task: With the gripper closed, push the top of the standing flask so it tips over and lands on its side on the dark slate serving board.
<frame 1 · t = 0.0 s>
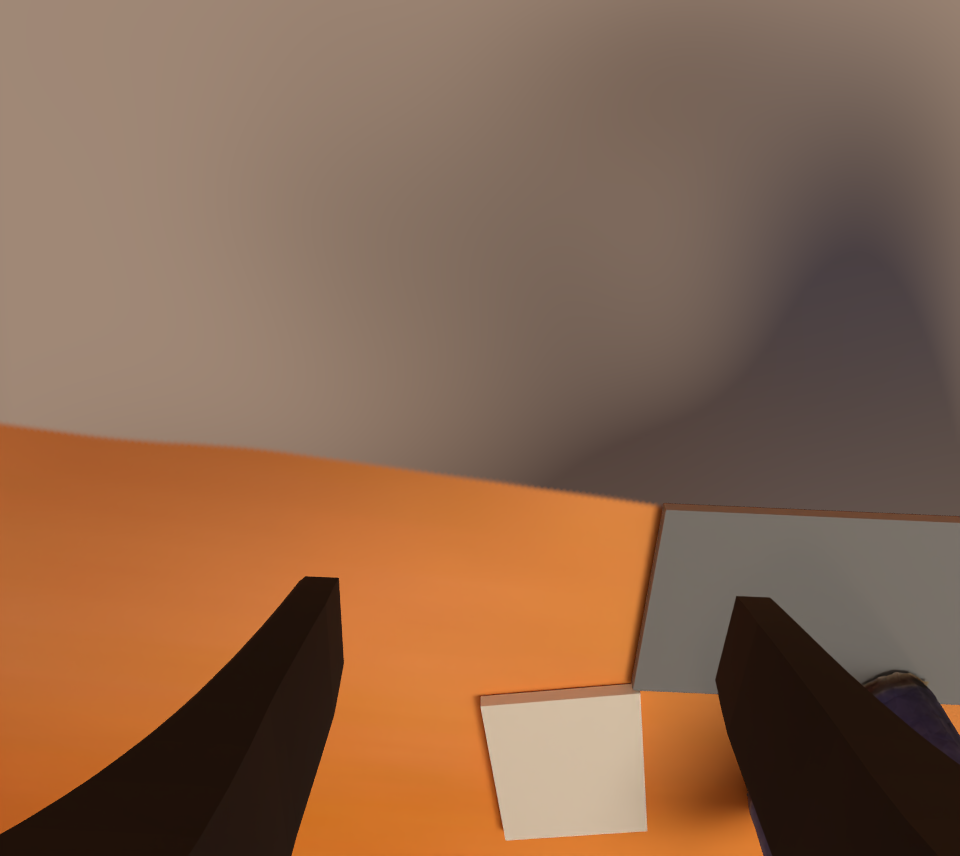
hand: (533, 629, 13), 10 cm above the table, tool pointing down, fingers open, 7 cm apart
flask: (826, 739, 28), on the table, touching board
napkin: (567, 761, 29), on the table
board: (844, 607, 26), on the table
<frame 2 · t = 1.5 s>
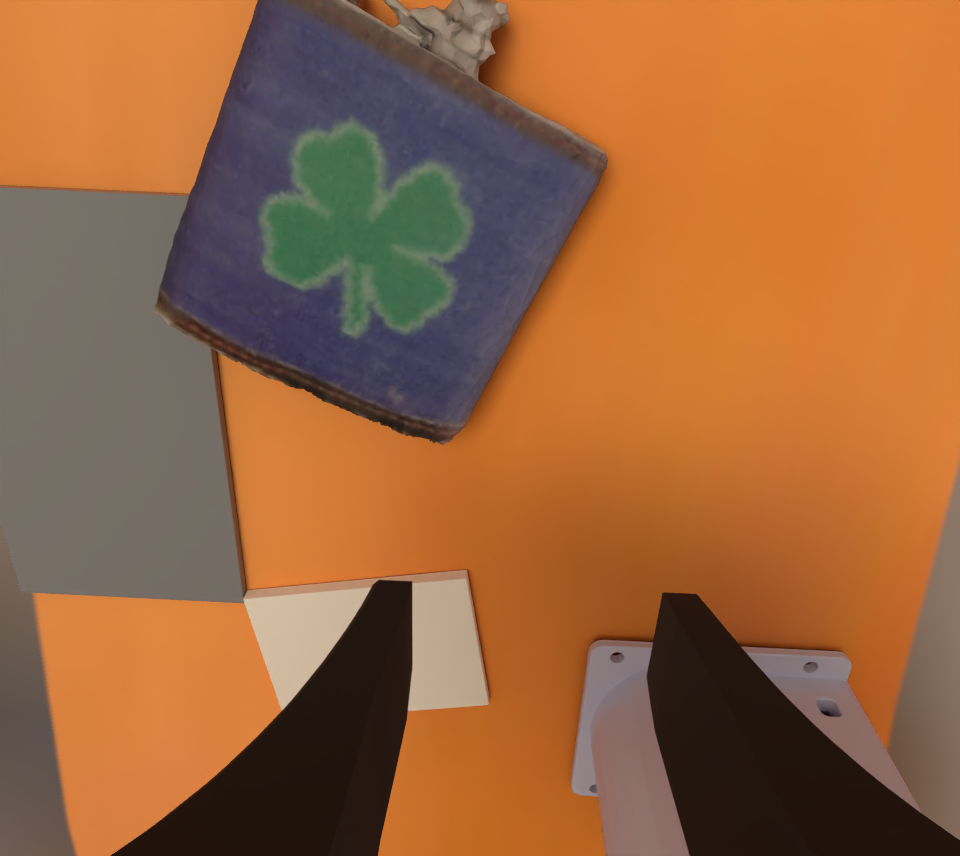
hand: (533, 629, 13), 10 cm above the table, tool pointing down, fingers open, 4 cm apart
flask: (308, 379, 21), point 2 cm above the table, touching board
napkin: (372, 644, 27), on the table
board: (100, 415, 23), on the table
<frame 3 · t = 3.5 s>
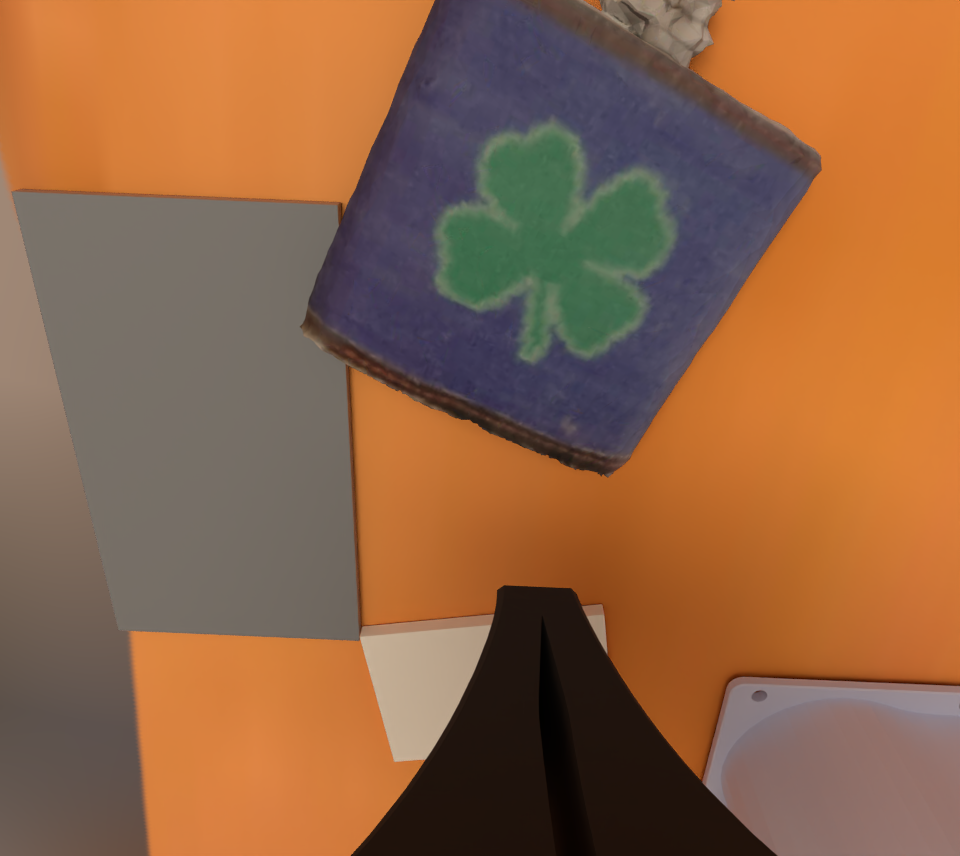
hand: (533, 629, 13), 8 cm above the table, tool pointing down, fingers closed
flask: (461, 406, 19), point 2 cm above the table, touching board
napkin: (492, 681, 25), on the table
board: (216, 443, 21), on the table
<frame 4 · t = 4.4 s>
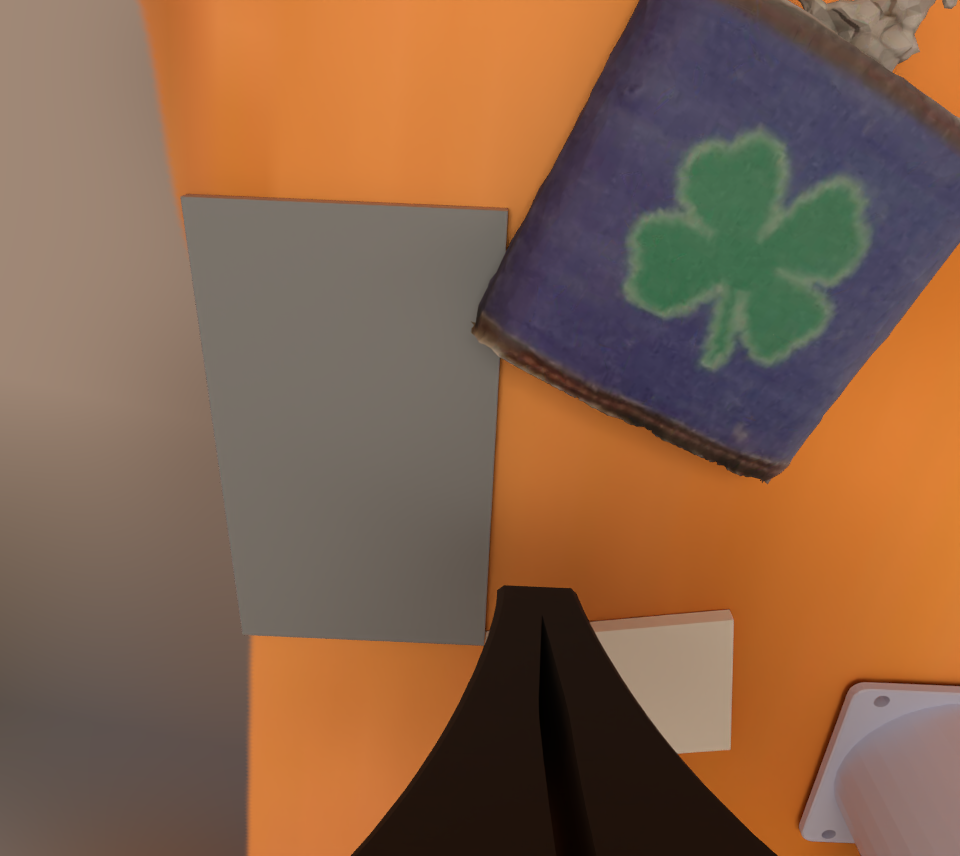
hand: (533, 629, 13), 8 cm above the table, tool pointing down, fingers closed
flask: (622, 413, 19), point 2 cm above the table, touching board
napkin: (610, 686, 25), on the table
board: (357, 448, 21), on the table
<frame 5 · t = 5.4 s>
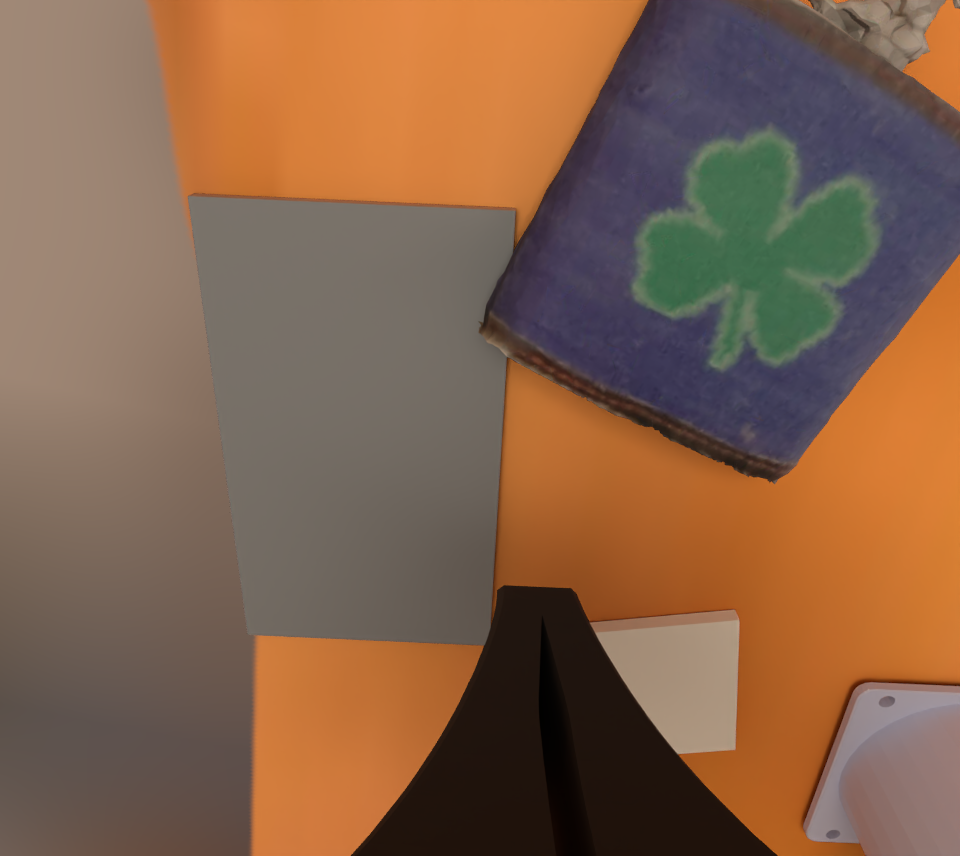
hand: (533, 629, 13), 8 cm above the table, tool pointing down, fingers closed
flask: (629, 413, 19), point 2 cm above the table, touching board
napkin: (616, 686, 25), on the table
board: (363, 448, 21), on the table
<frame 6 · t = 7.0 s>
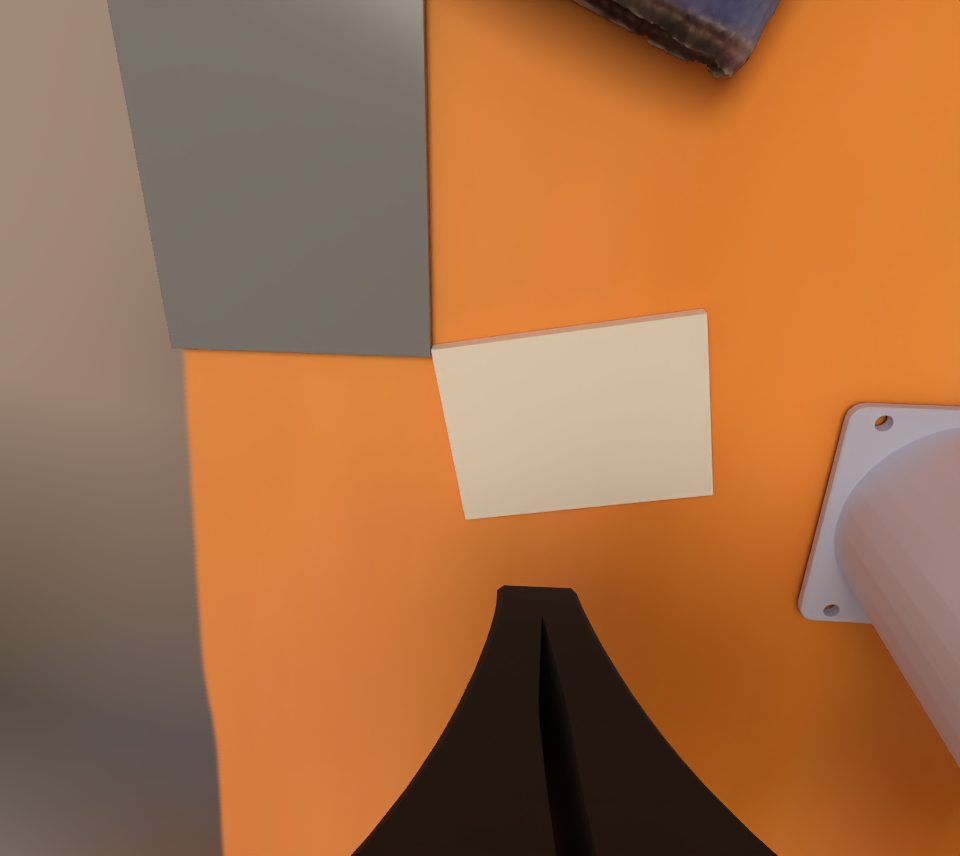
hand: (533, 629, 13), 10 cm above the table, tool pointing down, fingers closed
napkin: (575, 418, 23), on the table
board: (278, 99, 19), on the table
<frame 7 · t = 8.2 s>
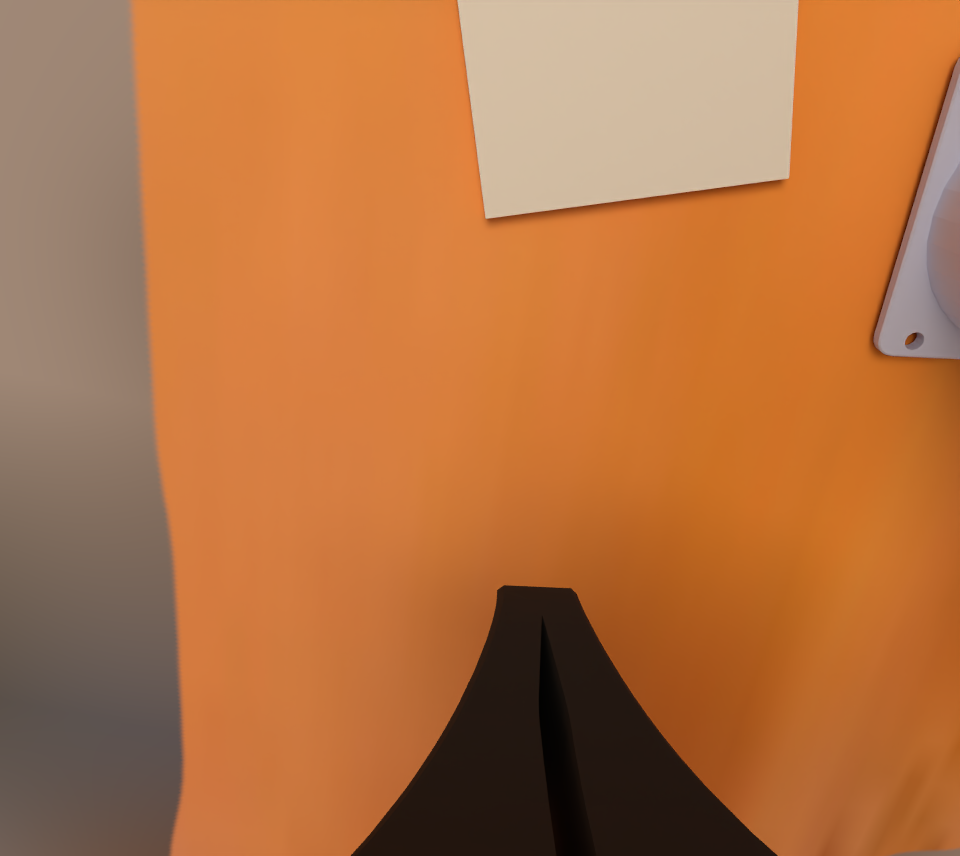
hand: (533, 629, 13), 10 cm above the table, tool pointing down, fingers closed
napkin: (626, 74, 18), on the table
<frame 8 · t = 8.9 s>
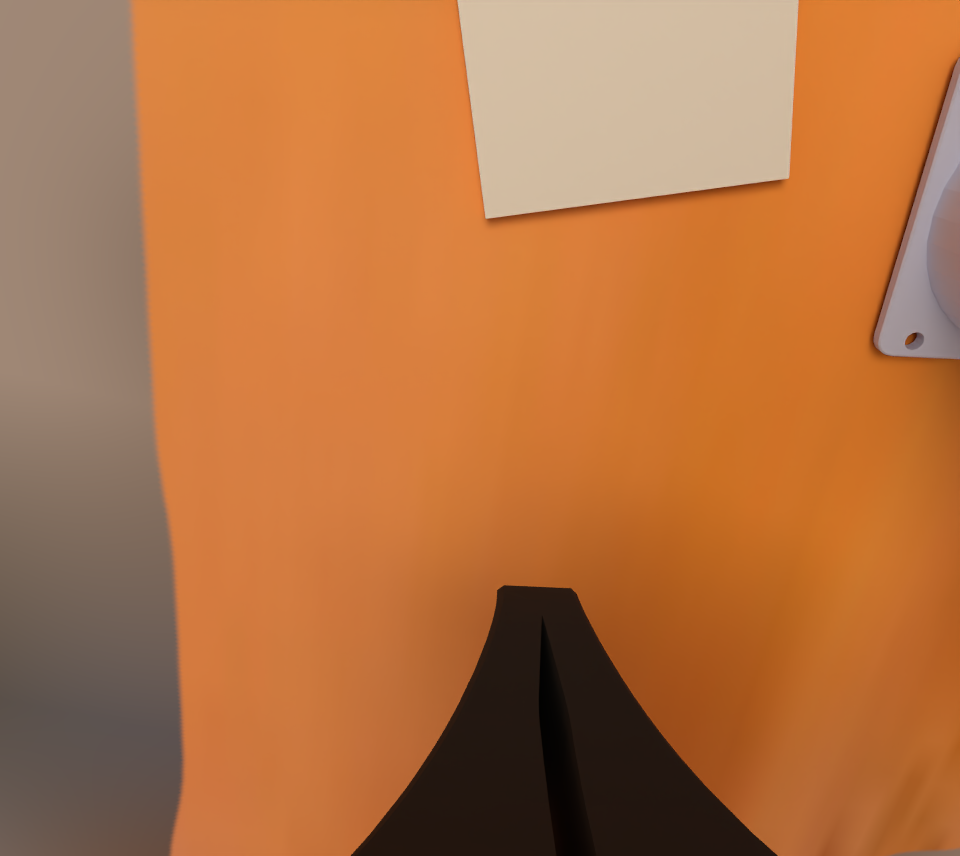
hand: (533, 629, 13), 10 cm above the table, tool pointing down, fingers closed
napkin: (626, 74, 18), on the table
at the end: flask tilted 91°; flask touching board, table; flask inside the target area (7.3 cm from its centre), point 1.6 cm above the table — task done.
